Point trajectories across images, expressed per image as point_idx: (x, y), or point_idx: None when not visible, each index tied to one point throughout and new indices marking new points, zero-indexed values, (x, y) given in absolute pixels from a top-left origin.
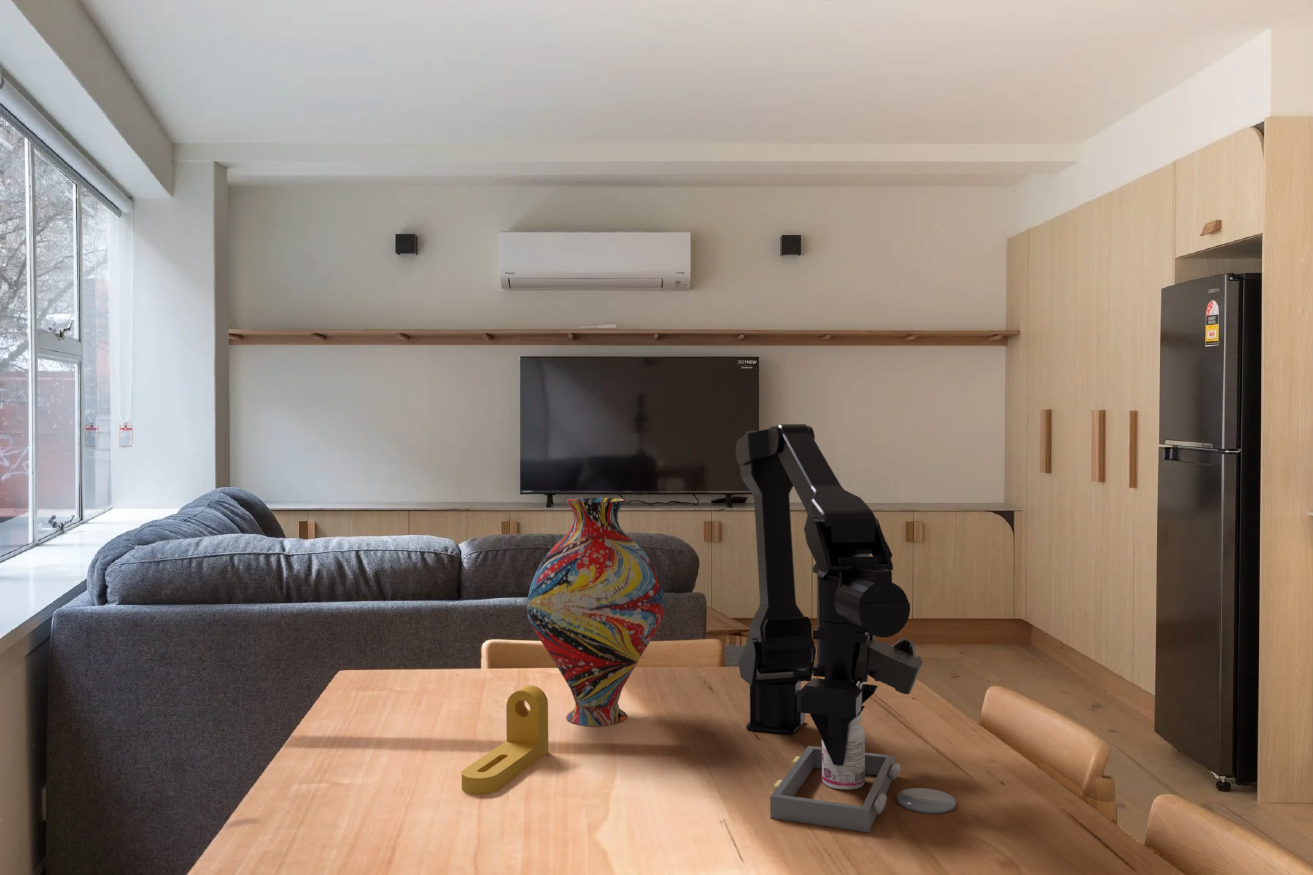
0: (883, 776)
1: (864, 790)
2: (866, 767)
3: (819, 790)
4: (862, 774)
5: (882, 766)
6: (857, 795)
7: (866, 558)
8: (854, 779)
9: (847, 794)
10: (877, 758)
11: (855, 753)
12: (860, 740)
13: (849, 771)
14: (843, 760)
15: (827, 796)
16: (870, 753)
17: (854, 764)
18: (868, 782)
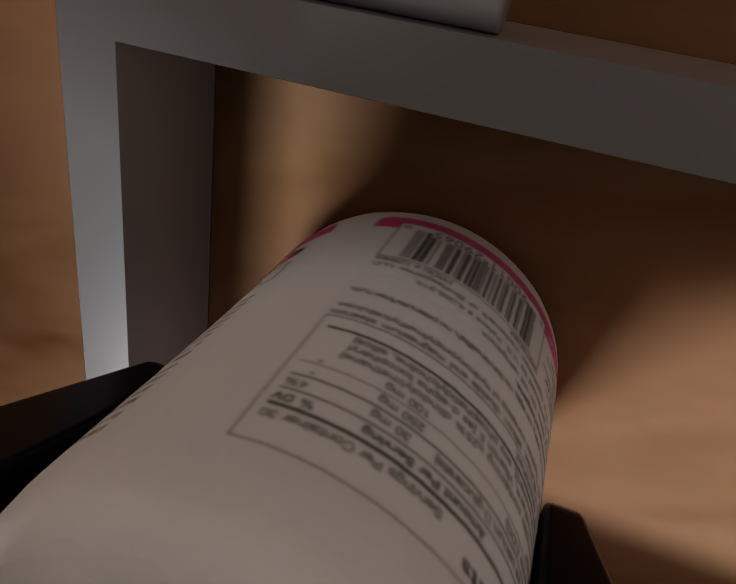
0: (722, 101)
1: (539, 219)
2: (184, 189)
3: (570, 500)
4: (468, 270)
5: (379, 94)
6: (657, 282)
7: None
8: (539, 330)
9: (638, 349)
10: (131, 122)
11: (500, 467)
12: (403, 509)
13: (544, 408)
14: (598, 552)
15: (686, 478)
16: (76, 183)
17: (521, 402)
18: (364, 174)
